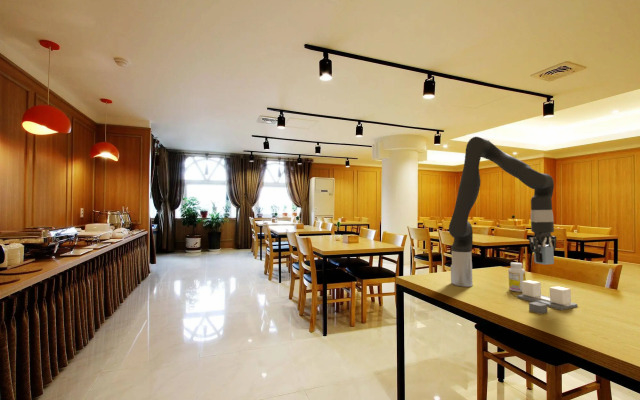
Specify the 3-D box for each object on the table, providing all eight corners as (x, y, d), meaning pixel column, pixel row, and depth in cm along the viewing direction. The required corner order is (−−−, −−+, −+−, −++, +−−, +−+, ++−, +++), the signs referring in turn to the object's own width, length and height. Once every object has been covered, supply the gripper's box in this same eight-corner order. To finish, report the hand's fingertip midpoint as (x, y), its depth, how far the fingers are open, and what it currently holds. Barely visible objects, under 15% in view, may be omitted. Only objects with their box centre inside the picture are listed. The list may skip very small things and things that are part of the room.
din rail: (516, 297, 125) (516, 281, 126) (532, 294, 129) (531, 279, 129) (561, 310, 109) (560, 291, 110) (577, 306, 113) (576, 288, 113)
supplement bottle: (520, 288, 139) (519, 261, 140) (529, 292, 133) (528, 264, 133) (506, 288, 140) (505, 261, 140) (514, 292, 133) (513, 264, 134)
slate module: (534, 262, 121) (533, 246, 121) (542, 261, 123) (541, 245, 123) (546, 264, 117) (545, 247, 117) (554, 263, 118) (553, 246, 119)
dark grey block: (529, 310, 110) (528, 302, 110) (536, 309, 111) (536, 301, 111) (540, 314, 106) (540, 306, 106) (547, 312, 107) (547, 304, 108)
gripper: (543, 220, 126) (545, 258, 126) (521, 221, 121) (522, 261, 121) (563, 220, 119) (565, 261, 119) (540, 221, 114) (542, 264, 114)
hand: (543, 261), depth 120 cm, fingers closed on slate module, 5 cm apart
